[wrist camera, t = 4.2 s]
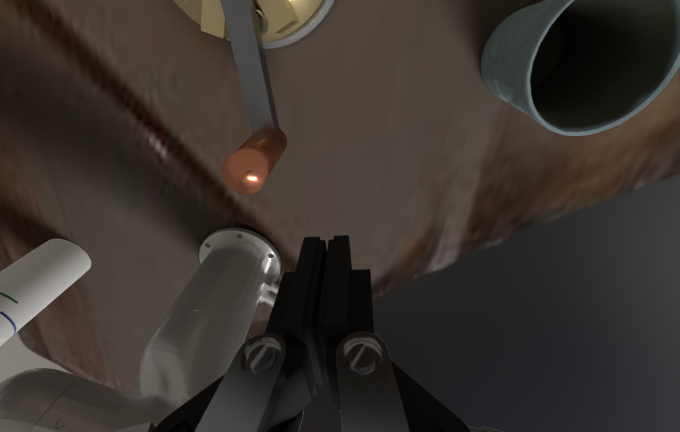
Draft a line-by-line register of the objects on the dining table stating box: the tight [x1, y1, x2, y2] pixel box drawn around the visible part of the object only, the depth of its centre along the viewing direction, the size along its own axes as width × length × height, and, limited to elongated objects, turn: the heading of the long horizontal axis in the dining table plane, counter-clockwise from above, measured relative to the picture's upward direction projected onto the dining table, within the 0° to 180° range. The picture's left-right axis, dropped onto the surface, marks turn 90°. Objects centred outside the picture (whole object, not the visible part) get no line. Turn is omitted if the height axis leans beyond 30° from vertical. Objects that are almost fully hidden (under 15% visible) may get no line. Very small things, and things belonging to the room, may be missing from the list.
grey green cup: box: [481, 0, 680, 136], centre depth 25 cm, size 10×10×12 cm
